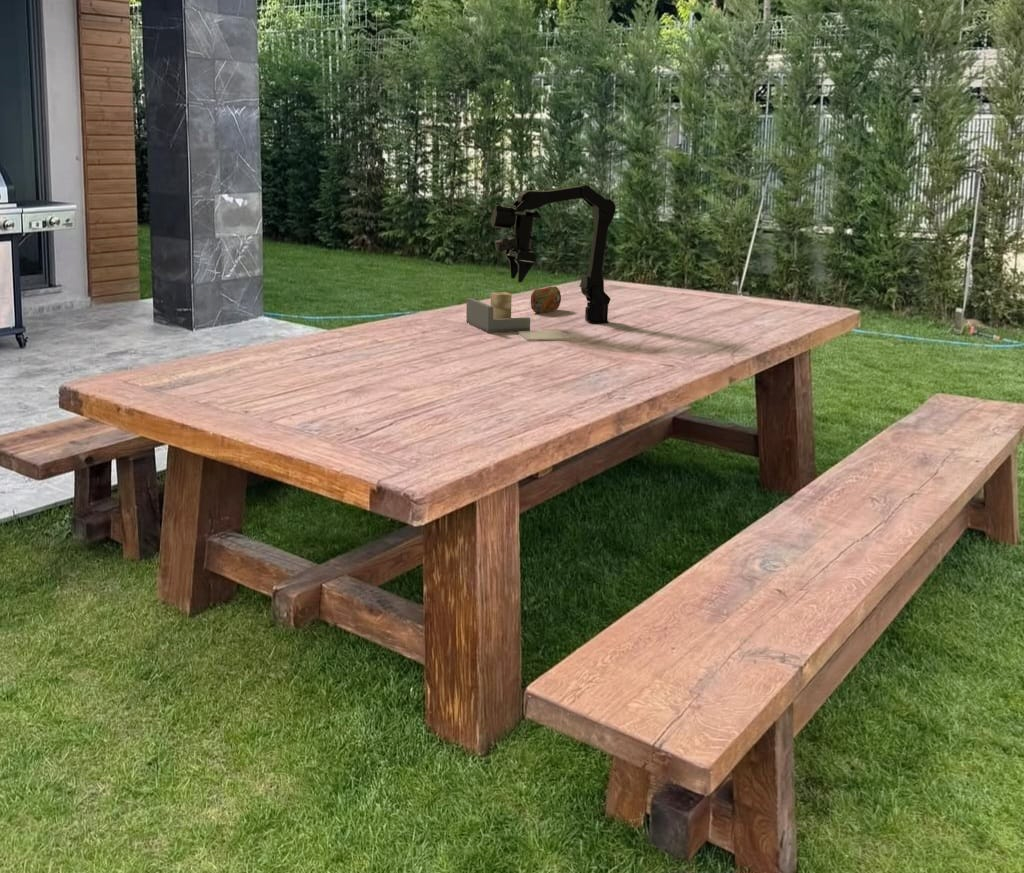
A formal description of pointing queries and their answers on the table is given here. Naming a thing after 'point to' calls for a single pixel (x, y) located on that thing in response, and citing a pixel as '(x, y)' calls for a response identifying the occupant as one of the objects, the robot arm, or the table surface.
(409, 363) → the table surface
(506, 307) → the block
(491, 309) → the grey walled tray
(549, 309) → the tin
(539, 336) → the tile
